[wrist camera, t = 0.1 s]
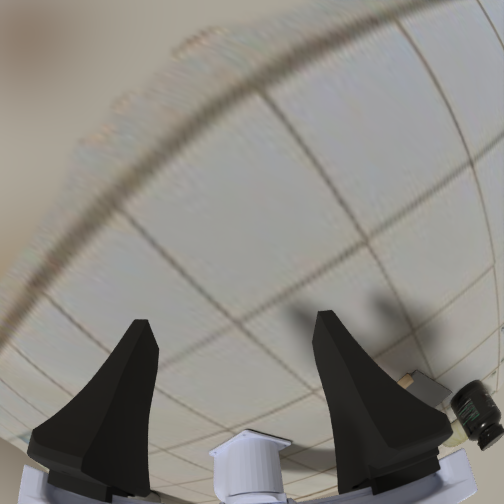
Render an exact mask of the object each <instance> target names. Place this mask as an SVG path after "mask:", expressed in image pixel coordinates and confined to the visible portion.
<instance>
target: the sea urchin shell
mask: <svg viewBox="0 0 504 504" xmlns="http://www.w3.org/2000/svg"><path fill="white" fill-rule="evenodd" d="M451 427H452V430H453V435H452V436H451V437H450V438H449V439H448V440H446V441H445V442H444V443H442V444H443V445H444V446H445V447H455V446H458V445H459V444H461V443H463V442H465V441H466V440H467V439H468V437H467V435H466V433H465V432H464V430H463V428H462V426H461V424H460V422H459V421H458V419H457V420H455V421H454V422H453V423H451Z"/></svg>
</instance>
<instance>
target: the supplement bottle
mask: <svg viewBox="0 0 504 504" xmlns="http://www.w3.org/2000/svg"><path fill="white" fill-rule="evenodd" d="M451 408H452V410H453V412H454V413H455V415H456V417H457V419H458V421H459V422H460V424H461V426H462V428H463V430H464V432H465V433H466V435H467V437H468V439H469V440H471V441H477V440H478V446H480V449H481V450H482V451H484V450H485V449H487V448H489V447H490V446H492V445H493V444H494V443H496V442H497V441H498V440H499V439H500V438H501V437H502V436H503V435H504V429H503V427H502V424H499V421H500V419H501V412H500V410H499V409H498V407H497V406H496V404H495V403H494V401H493V399H492V398H491V396H490V395H489V393H488V392H487V390H486V389H485V387H484V386H483V385H482V383H481V382H480V381H473V382H471V383H469V384H467V385H466V386H464V387H463V388H462V389H461V390H460V391H459V392H458V393H457V394H456V395H455V396H454V397H453V399H452V401H451Z"/></svg>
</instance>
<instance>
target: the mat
mask: <svg viewBox="0 0 504 504" xmlns="http://www.w3.org/2000/svg"><path fill="white" fill-rule="evenodd" d="M411 377H412V379H413V381H414V382H413V383H412V384H410V385H409V386H408V387H407V388H406V390H407V391H408V392H410V393H411V394H412V395H414V396H415V397H416V398H418V399H420V400H421V401H423V402H424V403H426V404H427V405H429V406H431V407H433V408H434V407H436V406H437V405H438V404H439V403H441V402H442V401H443V400H444V399H445V398H446V397H448V396H449V395H450V394H451V393H452V392H451V391H450V390H448V389H447V388H445V387H443V386H442V385H440V384H438V383H437V382H435V381H434V380H432V379H430V378H429V377H427V376H425V375H424V374H422V373H420V372H419V371H417V370H416V371H415V372H414V373H413V374H411Z"/></svg>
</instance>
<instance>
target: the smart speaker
mask: <svg viewBox="0 0 504 504" xmlns="http://www.w3.org/2000/svg"><path fill="white" fill-rule="evenodd" d="M128 498H131V499H136V500H142V501H149V502H155V503H161V499H160V497H159V496H158V495H157V494H156V493H154V492H152V491H151V493H150V494H149V495H148V496H147V497H139V496H135V497H130V496H128Z"/></svg>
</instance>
